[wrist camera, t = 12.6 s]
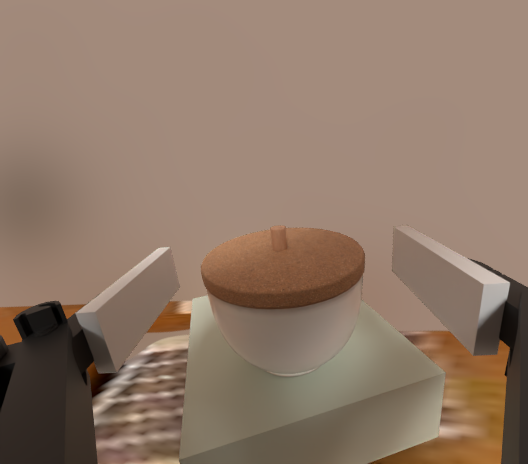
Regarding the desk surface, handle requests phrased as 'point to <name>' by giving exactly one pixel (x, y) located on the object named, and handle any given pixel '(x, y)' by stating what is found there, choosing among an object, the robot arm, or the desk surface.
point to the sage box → (308, 400)
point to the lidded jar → (286, 296)
